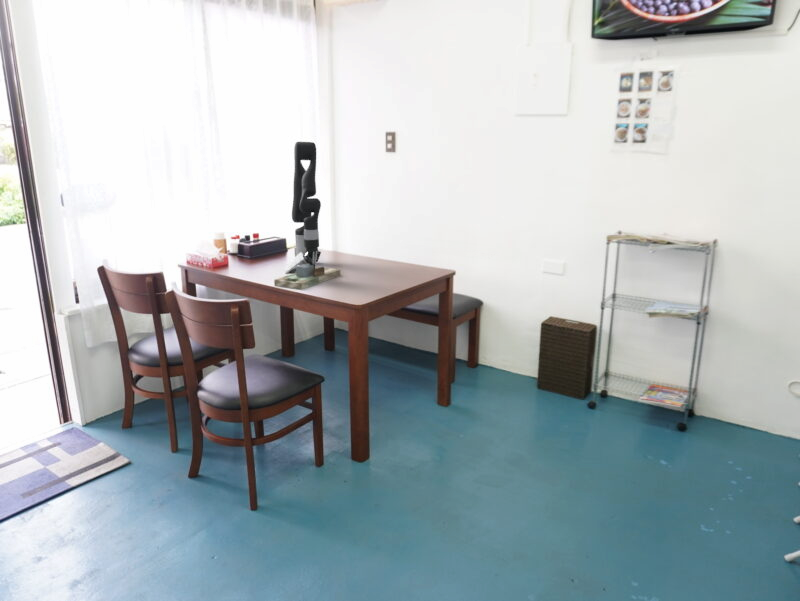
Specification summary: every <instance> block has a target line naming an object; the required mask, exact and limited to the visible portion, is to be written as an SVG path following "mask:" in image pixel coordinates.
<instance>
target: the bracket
mask: <svg viewBox="0 0 800 601" xmlns="http://www.w3.org/2000/svg"><path fill="white" fill-rule="evenodd" d="M303 255H304V254H303V253H302V252H300V253H299V254H298V255H296V257H295V256H294V258H293V259H292V261H290V263H289V264H288V266H287V267H286V268H285V270H284V273H285V274H287V275H288V274H289V273H290V272H291V271H293V269H296V266H299V264H300V263H301V262H302V261H305V259H304V258H303ZM305 262H306V261H305ZM306 264H307V262H306ZM307 265H310V264H307Z"/></svg>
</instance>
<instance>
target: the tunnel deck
mask: <svg viewBox="0 0 800 601" xmlns="http://www.w3.org/2000/svg"><path fill="white" fill-rule="evenodd" d="M341 272H342V271H341V269H338V268H329V267H324V266H315V269H313V275H312V276H309V277H306V278H305V277H298V276H296V272H295V273H291V274H287V275H284V276H281V277H278V278H274V282H273V283H274V287H275V286H276V287H281V288H289V289H296V290H303V289H306V288H309V287H312V286H314V285H318V284H319V283H323V282H326V281H329V280H330V279H335V278H337V277H339V276H342V274H341Z"/></svg>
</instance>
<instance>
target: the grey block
mask: <svg viewBox="0 0 800 601" xmlns="http://www.w3.org/2000/svg"><path fill="white" fill-rule="evenodd" d="M313 269H314V265H307V264H303V265H299V264H298V265H297V266H296V267H295V273H296V276H298V277H305V278H306V277H309V276H312V275H313Z"/></svg>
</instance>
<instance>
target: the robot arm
mask: <svg viewBox="0 0 800 601" xmlns="http://www.w3.org/2000/svg"><path fill="white" fill-rule="evenodd" d="M293 150H294V153H293V154H294V155H293V156H294V174H293V200H292V209H291V218H292V221H293V222H294V223H296V224H297V223H298V224H299V223H303V225H302V226H301V227H298V228H296V229H295V233H294V236H295V247H294V258H295V257H296V255H298V254H299V253H300V252H302V253H303V254H304V255H303V258H304V259H305V261H306V262H307V264H310V265H314V269H315V267H316V263H318V261H319V259H320V256H321V254H322V252H321V251H319V249H318V248H319V247H320V237H319V236H320V235H319V233H320V232H319V221H318V220H319V216H320V211H321V207H322V204H321V203H322V202H321V200H320V199H319V198H315V195H317V186H316V185H317V184H316V171H317V146H316V143H315V142H312V141H297V142H295V143H294V149H293ZM302 161H309V165H308V167H307V169H305V168H304V165H303V163H302ZM311 197H314V198H311ZM312 213H313V214H312ZM305 261H302V262H301V263H300V264H298V266H299V265H303V264H306V262H305Z"/></svg>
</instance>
